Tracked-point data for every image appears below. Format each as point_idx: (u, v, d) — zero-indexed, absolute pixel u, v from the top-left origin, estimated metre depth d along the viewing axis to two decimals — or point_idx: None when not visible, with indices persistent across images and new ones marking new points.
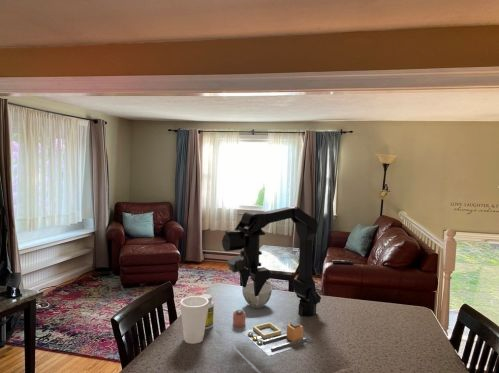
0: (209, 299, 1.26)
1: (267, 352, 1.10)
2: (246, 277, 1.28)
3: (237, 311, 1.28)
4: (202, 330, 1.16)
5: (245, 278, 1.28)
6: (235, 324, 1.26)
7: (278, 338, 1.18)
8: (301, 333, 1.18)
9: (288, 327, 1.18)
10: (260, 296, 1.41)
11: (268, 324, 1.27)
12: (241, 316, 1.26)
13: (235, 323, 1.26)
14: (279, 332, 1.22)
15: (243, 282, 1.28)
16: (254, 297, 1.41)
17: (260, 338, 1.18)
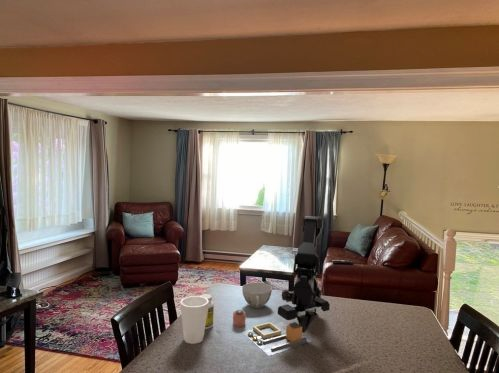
0: (209, 299, 1.26)
1: (267, 352, 1.10)
2: None
3: (237, 311, 1.28)
4: (202, 330, 1.16)
5: None
6: (235, 324, 1.26)
7: (278, 338, 1.18)
8: (300, 333, 1.18)
9: (287, 327, 1.18)
10: (260, 296, 1.41)
11: (268, 324, 1.27)
12: (241, 316, 1.26)
13: (235, 323, 1.26)
14: (279, 332, 1.22)
15: None
16: (254, 297, 1.41)
17: (260, 338, 1.18)
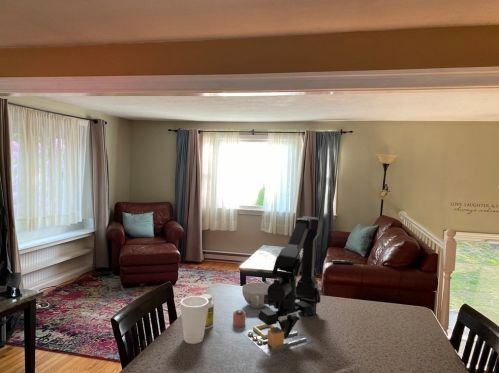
0: (209, 299, 1.26)
1: (267, 352, 1.10)
2: None
3: (237, 311, 1.28)
4: (202, 330, 1.16)
5: None
6: (235, 324, 1.26)
7: None
8: (282, 338, 1.14)
9: (269, 332, 1.14)
10: (260, 296, 1.41)
11: None
12: (241, 316, 1.26)
13: (235, 323, 1.26)
14: None
15: None
16: (254, 297, 1.41)
17: (260, 338, 1.18)
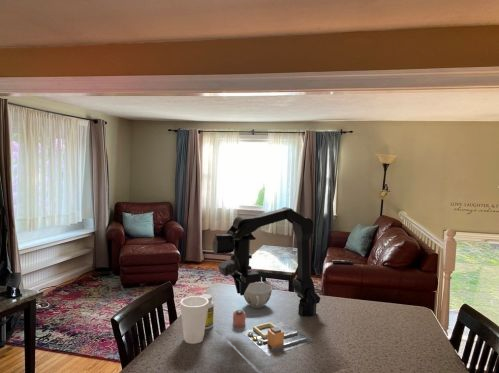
0: (209, 299, 1.26)
1: (267, 352, 1.10)
2: None
3: (237, 311, 1.28)
4: (202, 330, 1.16)
5: None
6: (235, 324, 1.26)
7: None
8: (282, 338, 1.14)
9: (269, 332, 1.14)
10: (260, 296, 1.41)
11: (268, 324, 1.27)
12: (241, 316, 1.26)
13: (235, 323, 1.26)
14: None
15: (238, 288, 1.28)
16: (254, 297, 1.41)
17: (260, 338, 1.18)
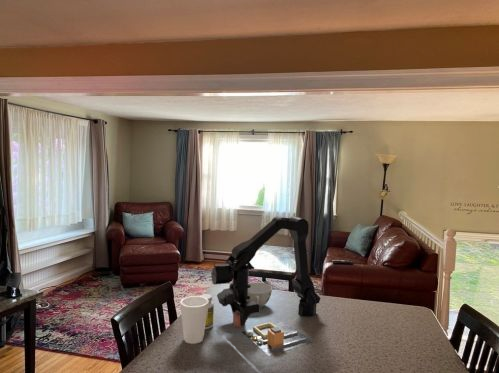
0: (209, 299, 1.26)
1: (267, 352, 1.10)
2: None
3: (237, 311, 1.28)
4: (202, 330, 1.16)
5: None
6: (235, 324, 1.26)
7: None
8: (282, 338, 1.14)
9: (269, 332, 1.14)
10: (260, 296, 1.41)
11: (268, 324, 1.27)
12: None
13: (235, 323, 1.26)
14: None
15: None
16: (254, 297, 1.41)
17: (260, 338, 1.18)
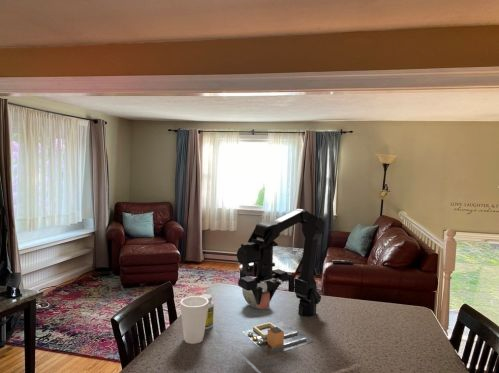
0: (209, 299, 1.26)
1: (267, 352, 1.10)
2: (270, 292, 1.24)
3: (263, 290, 1.24)
4: (202, 330, 1.16)
5: None
6: None
7: None
8: (282, 338, 1.14)
9: (269, 332, 1.14)
10: None
11: (268, 324, 1.27)
12: None
13: None
14: None
15: None
16: (254, 297, 1.41)
17: (260, 338, 1.18)
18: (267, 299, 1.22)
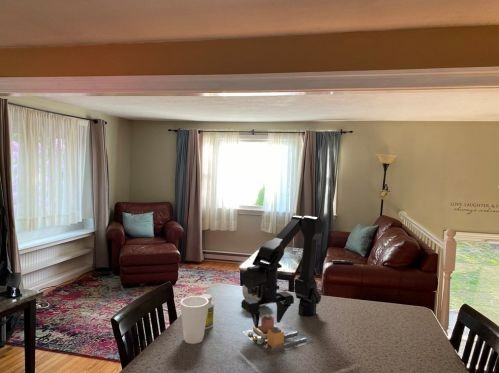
0: (209, 299, 1.26)
1: (267, 352, 1.10)
2: (279, 313, 1.25)
3: (267, 315, 1.24)
4: (202, 330, 1.16)
5: (279, 314, 1.25)
6: None
7: None
8: (282, 338, 1.14)
9: (269, 332, 1.14)
10: None
11: None
12: (262, 319, 1.22)
13: None
14: None
15: (277, 317, 1.26)
16: (254, 297, 1.41)
17: (260, 338, 1.18)
18: (271, 325, 1.21)
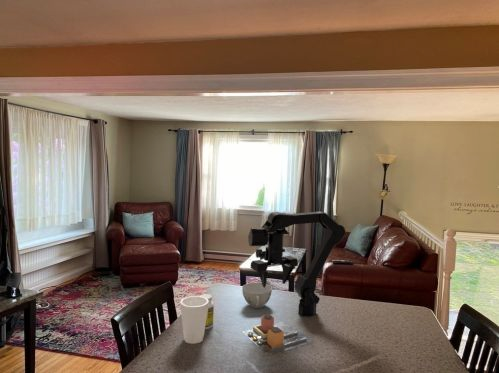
0: (209, 299, 1.26)
1: (267, 352, 1.10)
2: (285, 275, 1.37)
3: (267, 315, 1.24)
4: (202, 330, 1.16)
5: (284, 276, 1.37)
6: None
7: None
8: (282, 338, 1.14)
9: (269, 332, 1.14)
10: (260, 296, 1.41)
11: None
12: (261, 319, 1.22)
13: None
14: None
15: (282, 278, 1.38)
16: (254, 297, 1.41)
17: (260, 338, 1.18)
18: (271, 325, 1.21)
